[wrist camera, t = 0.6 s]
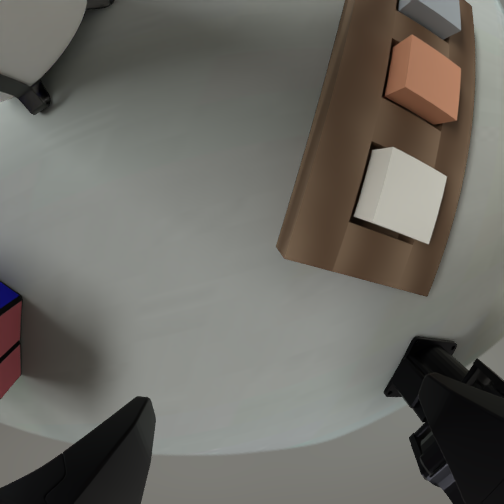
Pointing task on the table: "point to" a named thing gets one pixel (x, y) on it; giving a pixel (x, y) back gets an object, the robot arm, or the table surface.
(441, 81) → the terracotta button
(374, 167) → the cream button
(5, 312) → the puzzle cube
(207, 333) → the table surface
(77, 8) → the coffee press
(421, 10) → the slate button
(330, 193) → the brown wooden flat board
